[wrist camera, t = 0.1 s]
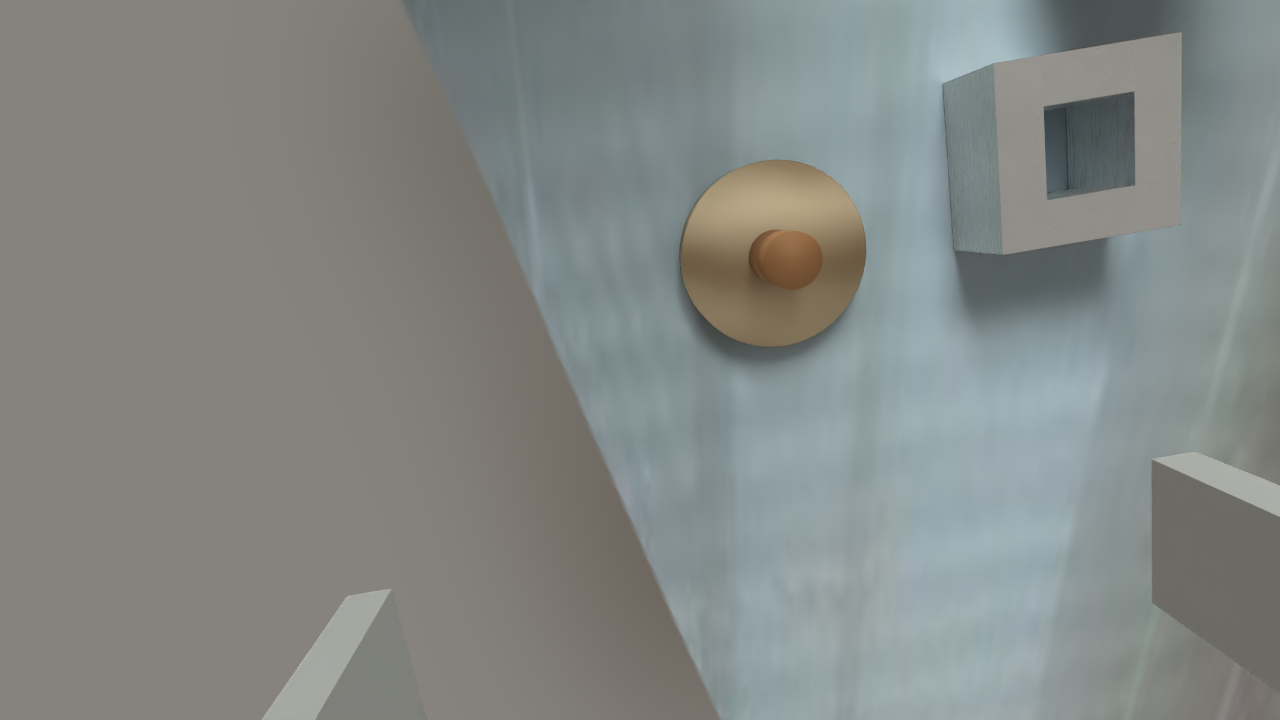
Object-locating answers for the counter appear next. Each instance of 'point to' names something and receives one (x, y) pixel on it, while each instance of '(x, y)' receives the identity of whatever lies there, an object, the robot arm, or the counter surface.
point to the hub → (773, 253)
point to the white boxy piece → (1096, 146)
